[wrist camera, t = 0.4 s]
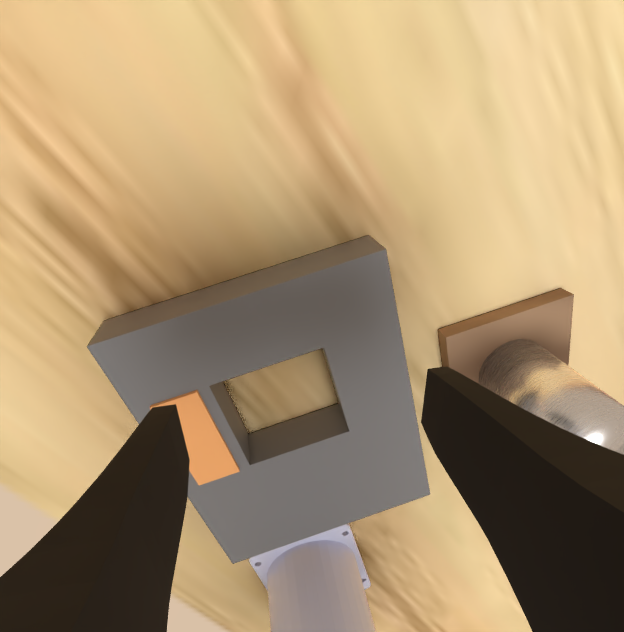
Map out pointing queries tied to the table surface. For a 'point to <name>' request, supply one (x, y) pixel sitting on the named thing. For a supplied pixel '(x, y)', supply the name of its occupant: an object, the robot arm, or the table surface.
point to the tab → (509, 331)
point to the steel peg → (553, 392)
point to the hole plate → (293, 435)
